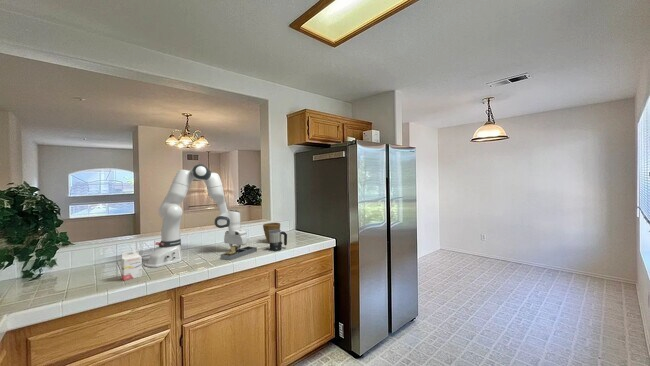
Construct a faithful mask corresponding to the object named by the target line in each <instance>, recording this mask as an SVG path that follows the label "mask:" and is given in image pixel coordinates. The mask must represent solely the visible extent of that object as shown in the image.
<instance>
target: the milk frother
mask: <svg viewBox="0 0 650 366" xmlns="http://www.w3.org/2000/svg"><path fill="white" fill-rule="evenodd" d="M282 235H283V242H282ZM269 240H270V243H269V250H268V251H269V252H270V251H271V252H278V251H281V250H282V245H284V246H287V244H288V233H286V232H285V231H281V229H280V230H270V231H269Z"/></svg>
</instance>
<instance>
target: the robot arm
mask: <svg viewBox="0 0 650 366" xmlns="http://www.w3.org/2000/svg"><path fill="white" fill-rule="evenodd" d="M193 181H195V182H199V181H200V182H201V181H203V182H204V183H205V186H206V190H207V195H208V196H209V199H211V200H212V201H214V202H215V203H216V205H217V207H218V211H219V215H218V216H216V217H215V219H214V225H215V226H216V228H218V229H224V228H227V229H228V230H226V231H225V232H224V236H223V239H224V240H223V242H224V243H225V244H228V245H229V248H231V246H234V245H237V246H238V248H237V250H238V249H241V248H242V246H245V245H246V244H247V231H246V230H245V229H242V227H241V212H240V211H239V210H236V209H229V208H228V204H227V201H226V197H225V192H224V187H223V182H222V179H221V177H220V174H218V173H217V172H212V171H211V170H210V169H209V168H208V167H207V166H206V165H204V164H201V163H199V164H196V165H193V167H192V168H191V169H190V170H188V169H179V170H178V171H177V173H176V174H175V176H174V178H173V180H172V182H171V185H170V186H169V189H168V191H167V193H166V196H165V197H164V198H163V200H162V202H161V204H160V206H159V207H158V215H159V216H160V218H162V224H161V228H160V233H161V235H160V236H161V237H160V239H161V240H160V242H158V241H157V242H155V246H158V247H157V248H156V249H155V250H154V251H153V252H151V253H150V254H149V256H148V261H147V262H145V263H144V267H146V268H159V267H164V266H169V265H173V264H177V263H181V262H182V261H183V260H184V257H183V253H182V247H181V246H182V239H181V221H182V215H183V208H182V207H181V204H182V202H183V201H184V200H185V199H186V196H187V194H188V191H189V189H190V186H191V184H192V182H193Z"/></svg>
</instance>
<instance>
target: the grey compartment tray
mask: <svg viewBox="0 0 650 366" xmlns="http://www.w3.org/2000/svg"><path fill="white" fill-rule="evenodd" d="M234 251H236V254H233V255H226V253H225V252H224V253H222V254H220V260H225V261H233V260H235V259H240V258H242V257H245V256H247V255H251V254H254V253H256V252H258V247H255V246H250V245H249V246H245V247H240V249H238V250H234Z"/></svg>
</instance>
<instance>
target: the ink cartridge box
mask: <svg viewBox="0 0 650 366" xmlns="http://www.w3.org/2000/svg"><path fill="white" fill-rule="evenodd" d="M139 253H140V250H139V249H134V250H129V251H124V252H122V253H121V259H120V261H121V263H120V264H121V267H120V269H121V280H122V281H128V280H133V278H134V279H137V277H138V278H141V276H142V277H143V262H142V261H143V260H142V259H143V258H142V255H140V254H139Z"/></svg>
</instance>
